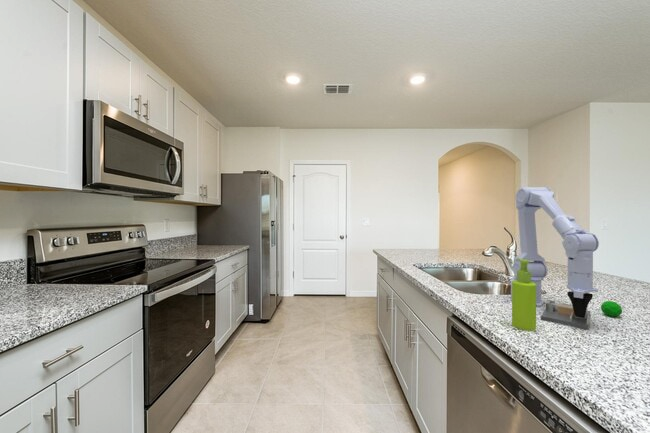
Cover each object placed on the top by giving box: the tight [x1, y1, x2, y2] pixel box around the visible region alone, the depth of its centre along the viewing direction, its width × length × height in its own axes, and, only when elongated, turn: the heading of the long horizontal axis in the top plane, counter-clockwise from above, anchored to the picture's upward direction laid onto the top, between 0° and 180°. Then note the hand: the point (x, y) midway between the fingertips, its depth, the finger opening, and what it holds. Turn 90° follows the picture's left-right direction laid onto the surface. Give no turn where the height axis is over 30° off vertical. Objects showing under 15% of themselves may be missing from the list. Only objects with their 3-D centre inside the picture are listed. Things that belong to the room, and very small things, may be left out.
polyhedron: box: [600, 300, 623, 318], centre depth 93 cm, size 5×5×5 cm
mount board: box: [540, 299, 591, 330], centre depth 92 cm, size 11×18×4 cm, turn 135°
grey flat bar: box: [551, 302, 589, 314], centre depth 92 cm, size 9×3×1 cm, turn 45°
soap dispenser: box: [511, 259, 537, 332], centre depth 84 cm, size 6×7×20 cm
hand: (579, 316), depth 86 cm, fingers closed
